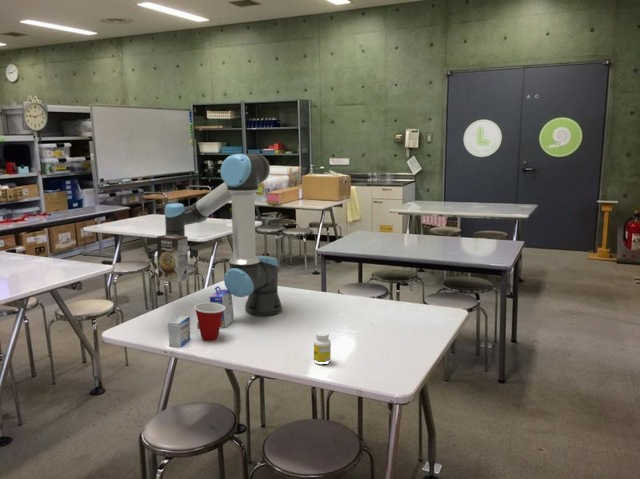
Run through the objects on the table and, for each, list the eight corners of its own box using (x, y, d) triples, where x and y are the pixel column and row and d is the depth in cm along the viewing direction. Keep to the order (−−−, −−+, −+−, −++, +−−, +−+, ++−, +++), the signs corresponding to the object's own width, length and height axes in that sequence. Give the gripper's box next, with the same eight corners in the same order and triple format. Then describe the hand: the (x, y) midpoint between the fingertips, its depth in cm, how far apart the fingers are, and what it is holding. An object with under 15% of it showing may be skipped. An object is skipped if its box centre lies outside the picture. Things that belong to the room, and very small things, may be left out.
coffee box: (157, 280, 191) (155, 236, 188) (169, 276, 197) (167, 233, 194) (178, 283, 187) (176, 238, 184) (189, 279, 193) (188, 235, 190)
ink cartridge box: (221, 318, 209) (218, 283, 206) (234, 319, 208) (231, 283, 205) (211, 327, 199) (208, 290, 197) (225, 327, 198) (222, 290, 196)
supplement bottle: (313, 358, 172) (313, 330, 171) (329, 358, 173) (330, 330, 171) (314, 365, 167) (314, 336, 165) (331, 365, 168) (331, 336, 166)
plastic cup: (225, 343, 184) (225, 310, 182) (193, 344, 182) (193, 311, 180) (225, 332, 194) (225, 301, 192) (195, 333, 193) (195, 301, 190)
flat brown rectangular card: (210, 322, 205) (210, 321, 205) (210, 328, 198) (210, 327, 198) (197, 322, 204) (197, 321, 204) (197, 329, 197) (197, 328, 197)
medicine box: (180, 347, 179) (179, 323, 178) (168, 346, 180) (167, 322, 179) (190, 339, 187) (190, 316, 185) (179, 338, 188) (178, 314, 186)
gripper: (204, 255, 211) (205, 268, 190) (144, 256, 206) (138, 270, 185) (204, 236, 210) (205, 247, 188) (143, 237, 204) (137, 249, 183)
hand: (172, 258), depth 186 cm, fingers closed on coffee box, 10 cm apart
